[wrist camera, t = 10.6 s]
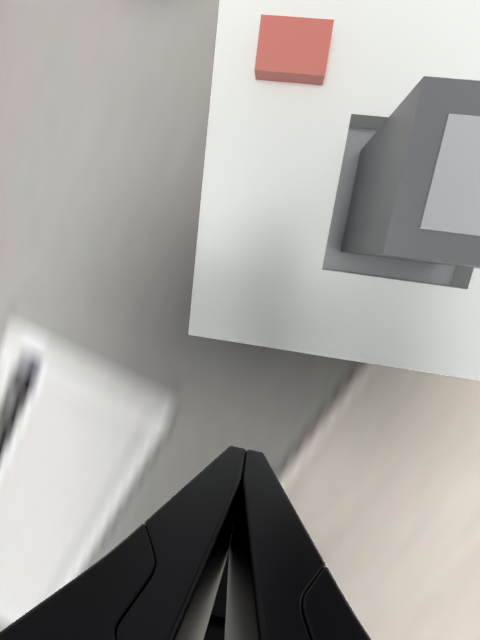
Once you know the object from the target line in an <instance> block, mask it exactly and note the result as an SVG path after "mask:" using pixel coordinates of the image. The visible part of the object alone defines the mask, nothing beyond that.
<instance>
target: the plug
mask: <svg viewBox="0 0 480 640" xmlns="http://www.w3.org/2000/svg"><path fill="white" fill-rule="evenodd" d="M341 252H347V253H355V254H363V255H370V256H378V257H386V258H393V259H401V260H409V261H416V262H424V263H432V264H440V265H450V266H459V267H469V268H479V269H480V81H477V80H465V79H453V78H441V77H429V76H423V78H422V79H421V80H420V81H419V82H418V84H417V85H416V86H415V87H414V88H413V89H412V91H411V92H410V93H409V94H408V95H407V96H406V98H405V99H404V100H403V101H402V102H401V103H400V105H399V106H398V107H397V108H396V109H395V110H394V112H393V113H392V114H391V115H390V116H389V118H388V119H387V120H386V121H385V122H384V123H383V125H382V126H381V127H380V128H379V129H378V130H377V132H376V133H375V134H374V135H373V136H372V137H371V139H370V140H369V141H368V142H367V143H366V144H365V146H364V147H363V148H362V149H361V151H360V156H359V161H358V166H357V171H356V177H355V182H354V187H353V192H352V197H351V202H350V207H349V212H348V217H347V222H346V227H345V232H344V237H343V242H342V247H341Z"/></svg>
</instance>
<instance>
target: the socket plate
mask: <svg viewBox="0 0 480 640" xmlns="http://www.w3.org/2000/svg"><path fill="white" fill-rule="evenodd" d="M423 76H429V77H441V78H453V79H465V80H477V81H480V0H220V3H219V13H218V24H217V34H216V45H215V56H214V66H213V77H212V87H211V98H210V109H209V119H208V130H207V140H206V151H205V162H204V172H203V183H202V193H201V204H200V215H199V225H198V236H197V246H196V257H195V268H194V278H193V289H192V299H191V310H190V321H189V331H188V335H193V336H200V337H206V338H212V339H218V340H225V341H231V342H237V343H243V344H250V345H256V346H262V347H269V348H275V349H281V350H287V351H294V352H300V353H306V354H312V355H319V356H325V357H331V358H337V359H344V360H350V361H356V362H362V363H369V364H375V365H381V366H387V367H394V368H400V369H406V370H413V371H419V372H425V373H431V374H438V375H444V376H450V377H456V378H463V379H469V380H475V381H480V269H479V268H469V267H459V266H450V265H440V264H432V263H424V262H416V261H409V260H401V259H393V258H386V257H378V256H370V255H363V254H355V253H347V252H341V247H342V242H343V237H344V232H345V227H346V222H347V217H348V212H349V207H350V202H351V197H352V192H353V187H354V182H355V177H356V171H357V166H358V161H359V156H360V151H361V149H362V148H363V147H364V146H365V144H366V143H367V142H368V141H369V140H370V139H371V137H372V136H373V135H374V134H375V133H376V132H377V130H378V129H379V128H380V127H381V126H382V125H383V123H384V122H385V121H386V120H387V119H388V118H389V116H390V115H391V114H392V113H393V112H394V110H395V109H396V108H397V107H398V106H399V105H400V103H401V102H402V101H403V100H404V99H405V98H406V96H407V95H408V94H409V93H410V92H411V91H412V89H413V88H414V87H415V86H416V85H417V84H418V82H419V81H420V80H421V79H422V78H423Z"/></svg>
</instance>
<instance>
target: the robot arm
mask: <svg viewBox="0 0 480 640" xmlns="http://www.w3.org/2000/svg"><path fill="white" fill-rule="evenodd" d="M245 454H246V455H245ZM231 535H232V536H231ZM230 541H231V543H230ZM0 640H371V639H370V637H369V635H368V634H367V632H366V631H365V629H364V628H363V626H362V625H361V623H360V622H359V620H358V619H357V617H356V616H355V614H354V612H353V611H352V609H351V607H350V606H349V604H348V602H347V601H346V599H345V597H344V595H343V594H342V592H341V590H340V589H339V587H338V585H337V584H336V582H335V580H334V578H333V576H332V575H331V573H330V571H329V569H328V568H327V567H325V563H324V561H323V559H322V557H321V555H320V554H319V552H318V550H317V548H316V547H315V545H314V543H313V541H312V539H311V538H310V536H309V534H308V532H307V531H306V529H305V527H304V525H303V523H302V522H301V520H300V518H299V516H298V515H297V513H296V511H295V509H294V507H293V506H292V504H291V502H290V500H289V499H288V497H287V495H286V493H285V491H284V490H283V488H282V486H281V484H280V483H279V481H278V479H277V477H276V475H275V474H274V472H273V470H272V468H271V467H270V465H269V463H268V461H267V459H266V458H265V456H264V454H263V453H262V452H258V451H253V450H247V451H245V449H243V448H238V447H234V446H230V447H228V448H227V449H226V450H225V451H224V452H223V453H222V454H221V455H219V456H218V457H217V458H216V459H215V460H214V461H213V462H212V463H210V464H209V465H208V466H207V467H206V468H205V469H204V470H203V471H201V472H200V473H199V474H198V475H197V476H196V477H195V478H194V479H193V480H191V481H190V482H189V483H188V484H187V485H186V486H185V487H184V488H182V489H181V490H180V491H179V492H178V493H177V494H176V495H175V496H173V497H172V498H171V499H170V500H169V501H168V502H167V503H166V504H164V505H163V506H162V507H161V508H160V509H159V510H158V511H157V512H155V513H154V514H153V515H152V516H151V517H150V518H149V519H148V520H146V521H145V523H144V524H142V525H140V526H139V527H138V528H137V529H136V530H135V531H134V532H133V533H132V534H130V535H129V536H128V537H127V538H126V539H125V540H123V541H122V542H121V543H120V544H119V545H117V546H116V547H115V548H114V549H113V550H111V551H110V552H109V553H108V554H107V555H105V556H104V557H103V558H101V559H100V560H99V561H97V562H96V563H95V564H93V565H92V566H91V567H89V568H88V569H87V570H85V571H84V572H83V573H82V574H80V575H79V576H78V577H76V578H75V579H73V580H72V581H71V582H69V583H68V584H66V585H65V586H64V587H62V588H61V589H59V590H58V591H57V592H55V593H54V594H52V595H51V596H50V597H48V598H47V599H45V600H44V601H43V602H41V603H40V604H38V605H37V606H36V607H34V608H33V609H32V610H30V611H29V612H27V613H26V614H25V615H23V616H22V617H20V618H19V619H18V620H16V621H15V622H13V623H12V624H11V625H9V626H8V627H6V628H5V629H4V630H2V631H1V632H0Z"/></svg>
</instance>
